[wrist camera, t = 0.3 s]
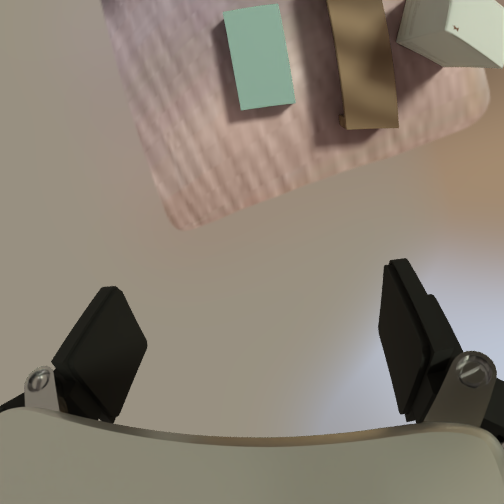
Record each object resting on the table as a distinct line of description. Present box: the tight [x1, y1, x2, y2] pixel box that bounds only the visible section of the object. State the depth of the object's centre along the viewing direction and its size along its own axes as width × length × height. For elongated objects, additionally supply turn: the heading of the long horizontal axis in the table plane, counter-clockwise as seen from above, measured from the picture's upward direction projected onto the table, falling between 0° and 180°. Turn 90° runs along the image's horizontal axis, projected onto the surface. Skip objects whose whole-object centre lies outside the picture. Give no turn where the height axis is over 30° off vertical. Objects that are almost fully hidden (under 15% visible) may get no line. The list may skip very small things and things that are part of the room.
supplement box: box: [396, 0, 504, 69], centre depth 20 cm, size 7×7×13 cm
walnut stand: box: [326, 0, 399, 130], centre depth 27 cm, size 18×6×4 cm, turn 9°
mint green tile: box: [223, 4, 295, 110], centre depth 29 cm, size 12×6×2 cm, turn 9°
